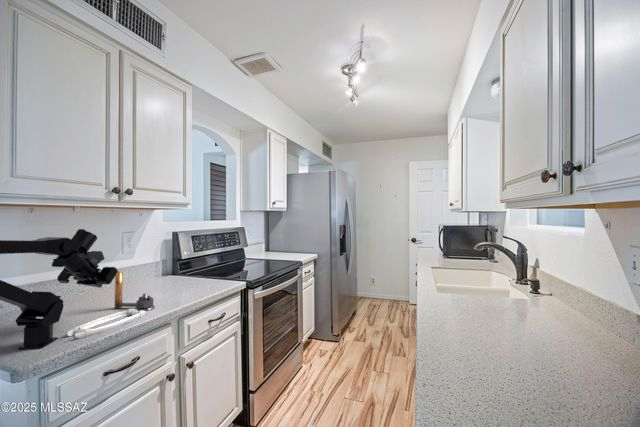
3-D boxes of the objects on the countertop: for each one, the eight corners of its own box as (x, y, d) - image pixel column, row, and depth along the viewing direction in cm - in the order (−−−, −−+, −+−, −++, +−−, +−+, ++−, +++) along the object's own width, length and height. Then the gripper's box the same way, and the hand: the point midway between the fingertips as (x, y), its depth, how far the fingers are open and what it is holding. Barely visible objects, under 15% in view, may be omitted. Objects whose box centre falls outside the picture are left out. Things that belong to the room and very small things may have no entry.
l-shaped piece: (153, 305, 123) (153, 271, 123) (147, 309, 119) (147, 273, 119) (118, 305, 123) (119, 271, 123) (111, 309, 118) (111, 273, 118)
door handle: (60, 337, 94) (133, 312, 117) (80, 343, 90) (151, 316, 114) (60, 329, 94) (133, 306, 117) (80, 334, 90) (151, 309, 114)
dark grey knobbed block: (150, 311, 118) (150, 296, 118) (131, 311, 117) (131, 296, 117) (157, 305, 125) (157, 291, 125) (140, 306, 124) (140, 292, 124)
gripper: (114, 245, 105) (134, 269, 117) (64, 244, 106) (89, 268, 117) (96, 271, 98) (120, 294, 109) (43, 270, 98) (72, 293, 110)
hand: (100, 286), depth 111 cm, fingers closed
